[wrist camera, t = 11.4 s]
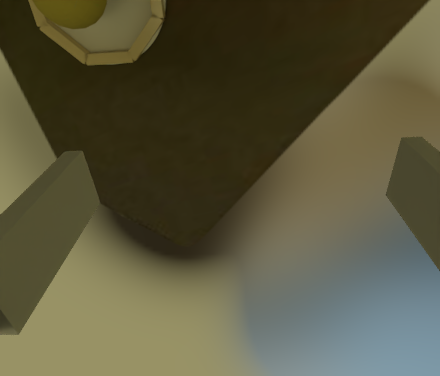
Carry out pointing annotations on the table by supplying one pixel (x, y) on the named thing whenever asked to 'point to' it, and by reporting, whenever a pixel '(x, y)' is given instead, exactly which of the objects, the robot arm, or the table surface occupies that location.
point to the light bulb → (72, 12)
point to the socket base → (110, 32)
